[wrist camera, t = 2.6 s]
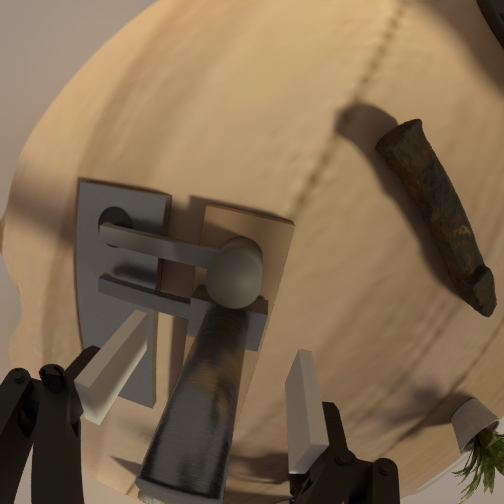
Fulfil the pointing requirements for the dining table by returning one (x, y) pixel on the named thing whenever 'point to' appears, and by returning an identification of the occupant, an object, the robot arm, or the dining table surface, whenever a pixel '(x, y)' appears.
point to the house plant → (479, 442)
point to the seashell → (148, 498)
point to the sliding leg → (196, 393)
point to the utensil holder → (283, 502)
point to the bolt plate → (119, 272)
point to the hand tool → (440, 211)
